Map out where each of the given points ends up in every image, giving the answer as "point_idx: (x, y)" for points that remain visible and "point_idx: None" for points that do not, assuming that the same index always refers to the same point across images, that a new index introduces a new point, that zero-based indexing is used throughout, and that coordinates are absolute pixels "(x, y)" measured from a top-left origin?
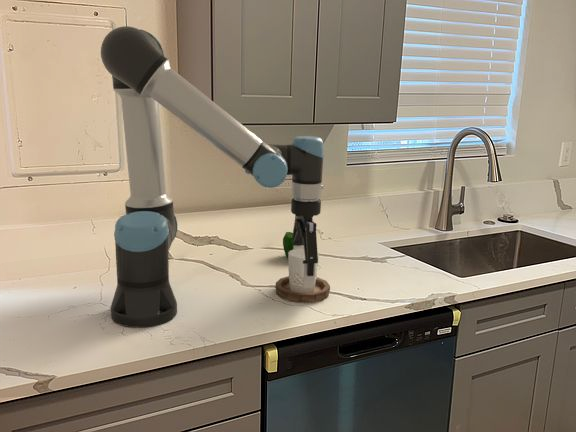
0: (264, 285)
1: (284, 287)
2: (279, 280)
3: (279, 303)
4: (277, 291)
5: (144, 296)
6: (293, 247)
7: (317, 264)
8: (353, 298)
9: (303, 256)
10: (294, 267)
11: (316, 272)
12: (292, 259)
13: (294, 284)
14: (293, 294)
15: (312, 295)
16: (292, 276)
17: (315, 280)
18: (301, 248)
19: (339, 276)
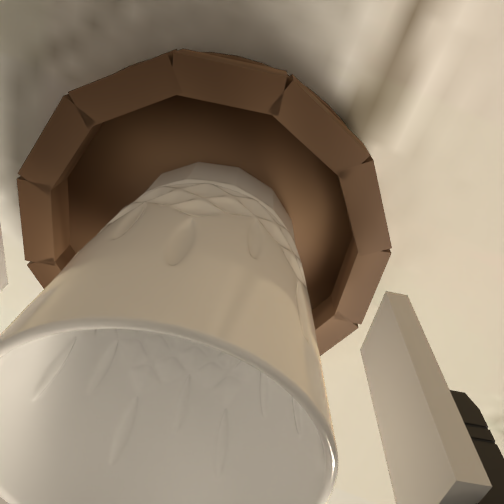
0: (430, 21)
1: (276, 144)
2: (332, 133)
3: (53, 7)
4: (189, 51)
5: None
6: (480, 460)
7: (124, 442)
8: None
9: (296, 432)
10: (79, 259)
11: (150, 383)
12: (62, 298)
13: (147, 192)
14: (45, 131)
15: (27, 242)
16: (140, 206)
17: (147, 335)
18: (408, 502)
19: (355, 454)
